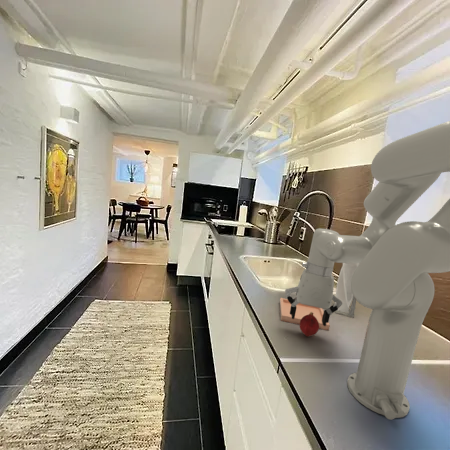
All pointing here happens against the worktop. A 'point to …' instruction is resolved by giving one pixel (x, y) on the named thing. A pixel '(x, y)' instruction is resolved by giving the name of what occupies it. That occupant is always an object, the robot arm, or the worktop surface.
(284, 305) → the dish
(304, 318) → the red round fruit
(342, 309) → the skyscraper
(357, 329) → the worktop surface
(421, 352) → the worktop surface
